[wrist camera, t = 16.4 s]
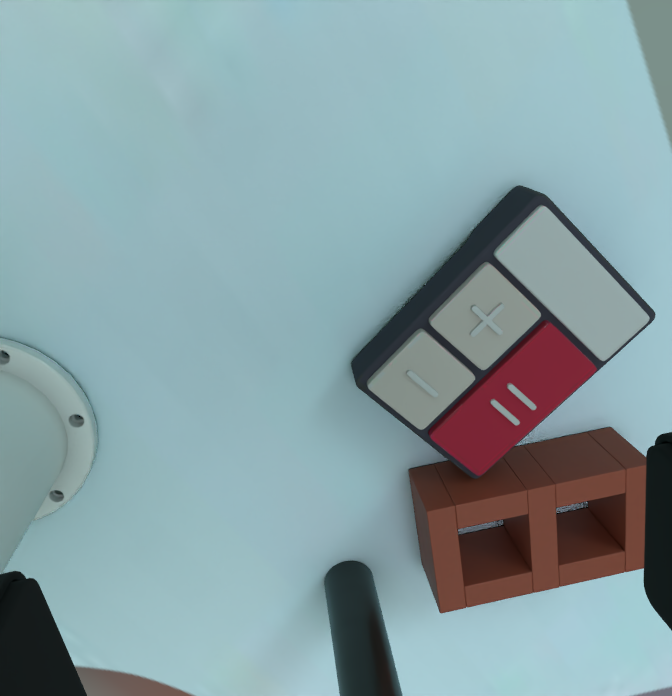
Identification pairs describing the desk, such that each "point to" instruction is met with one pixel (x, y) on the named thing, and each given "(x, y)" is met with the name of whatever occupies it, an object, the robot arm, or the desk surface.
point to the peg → (359, 633)
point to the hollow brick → (532, 519)
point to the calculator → (501, 334)
